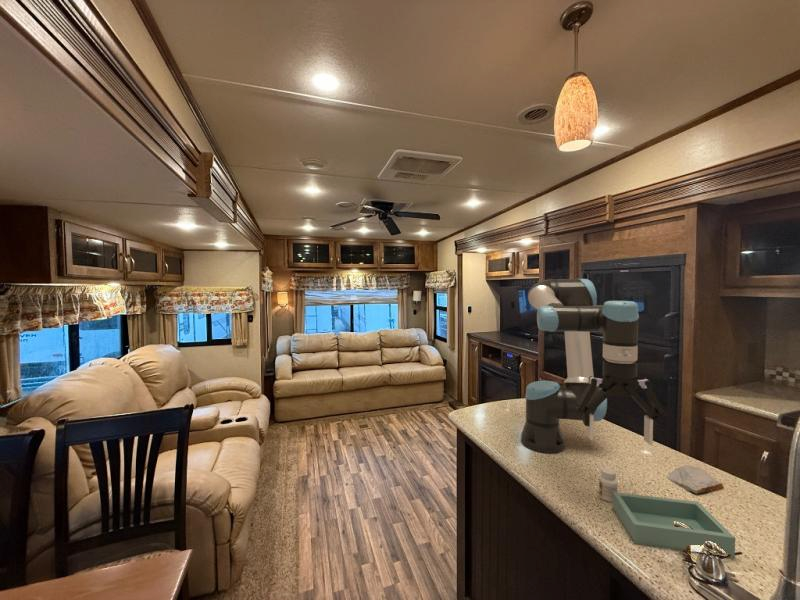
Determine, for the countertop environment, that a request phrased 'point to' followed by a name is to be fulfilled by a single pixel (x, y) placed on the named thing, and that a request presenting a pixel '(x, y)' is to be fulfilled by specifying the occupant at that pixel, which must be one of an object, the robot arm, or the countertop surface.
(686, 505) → the tray
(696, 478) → the stone
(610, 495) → the pill bottle
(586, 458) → the countertop surface
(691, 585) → the countertop surface
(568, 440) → the countertop surface
